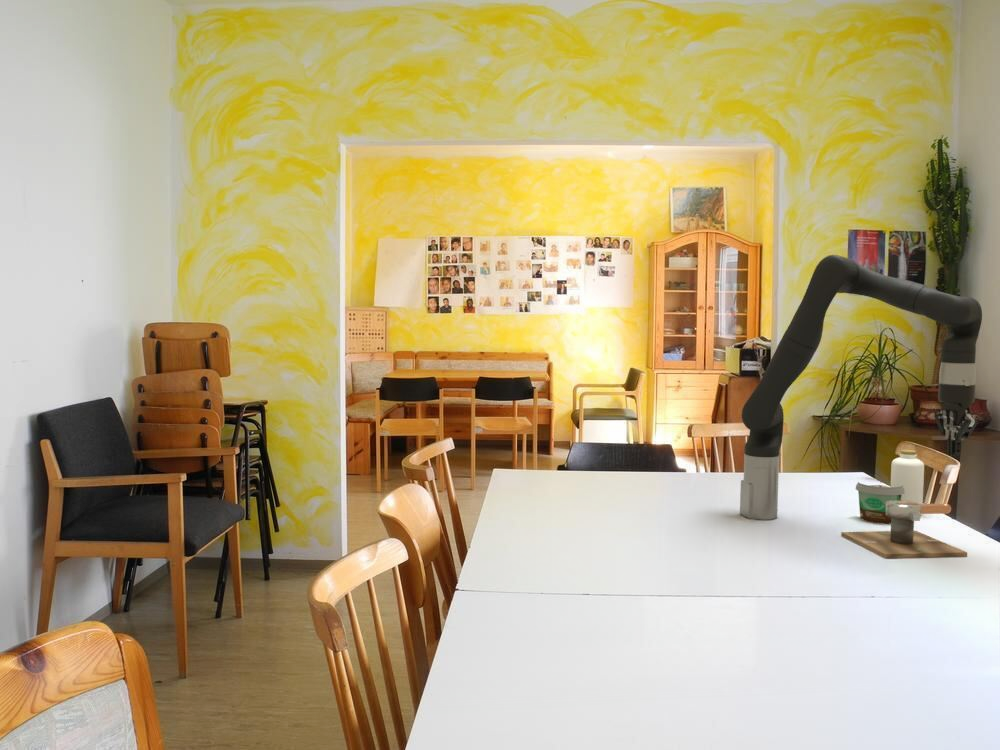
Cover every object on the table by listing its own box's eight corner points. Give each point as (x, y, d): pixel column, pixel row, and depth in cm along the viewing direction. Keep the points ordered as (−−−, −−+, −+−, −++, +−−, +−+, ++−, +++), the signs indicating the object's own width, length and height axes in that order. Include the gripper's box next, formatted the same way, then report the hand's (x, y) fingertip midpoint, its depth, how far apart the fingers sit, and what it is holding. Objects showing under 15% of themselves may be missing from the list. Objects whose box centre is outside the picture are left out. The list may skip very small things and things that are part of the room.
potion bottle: (915, 510, 241) (917, 448, 240) (927, 517, 233) (929, 453, 232) (885, 510, 242) (887, 448, 241) (895, 516, 234) (898, 452, 233)
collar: (901, 522, 197) (901, 508, 197) (875, 511, 208) (875, 498, 208) (964, 520, 199) (965, 507, 199) (935, 510, 210) (936, 497, 210)
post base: (885, 558, 193) (886, 528, 192) (841, 535, 213) (842, 508, 212) (967, 556, 195) (968, 526, 194) (915, 534, 215) (916, 507, 214)
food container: (852, 521, 229) (853, 484, 228) (854, 516, 234) (855, 481, 233) (902, 526, 223) (904, 489, 222) (903, 521, 228) (904, 485, 228)
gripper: (924, 380, 202) (921, 451, 203) (960, 384, 189) (957, 460, 190) (953, 380, 203) (950, 451, 204) (991, 384, 190) (987, 460, 191)
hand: (953, 455), depth 197 cm, fingers closed
